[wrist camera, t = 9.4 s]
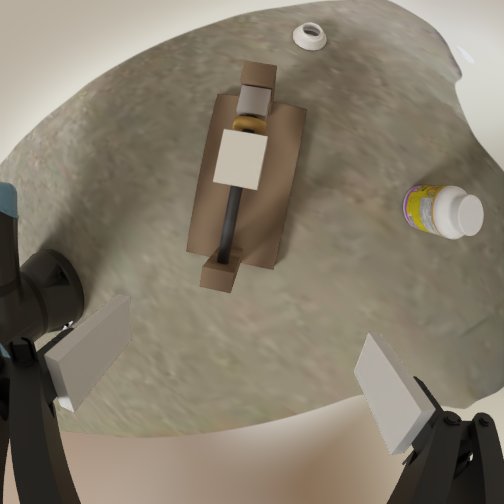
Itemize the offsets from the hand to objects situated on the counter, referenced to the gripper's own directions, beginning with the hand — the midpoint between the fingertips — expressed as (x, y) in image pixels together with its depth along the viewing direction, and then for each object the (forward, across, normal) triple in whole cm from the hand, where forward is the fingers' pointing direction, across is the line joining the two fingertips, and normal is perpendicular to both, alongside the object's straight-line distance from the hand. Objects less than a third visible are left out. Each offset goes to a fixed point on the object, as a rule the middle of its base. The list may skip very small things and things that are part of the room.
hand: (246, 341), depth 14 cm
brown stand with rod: (+24, +3, -9) cm, 26 cm away
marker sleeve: (+17, +3, -10) cm, 20 cm away
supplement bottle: (+24, -23, -10) cm, 35 cm away
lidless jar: (+25, -3, -33) cm, 41 cm away
